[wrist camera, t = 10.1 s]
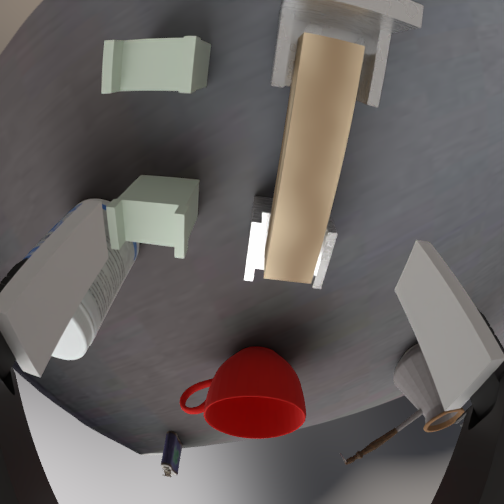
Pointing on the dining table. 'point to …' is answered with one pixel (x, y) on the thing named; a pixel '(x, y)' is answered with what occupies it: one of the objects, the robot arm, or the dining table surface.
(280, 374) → the ceramic cup
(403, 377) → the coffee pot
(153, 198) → the rack
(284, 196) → the rail
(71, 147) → the dining table surface
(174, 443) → the flask
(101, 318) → the supplement tub
